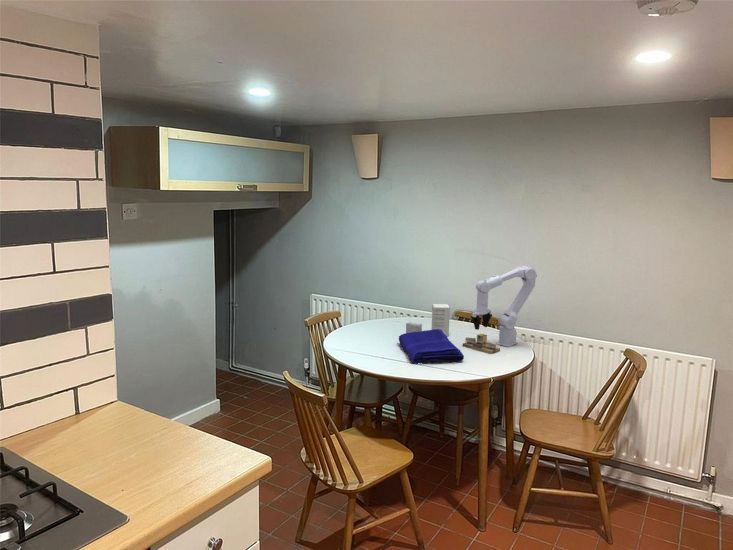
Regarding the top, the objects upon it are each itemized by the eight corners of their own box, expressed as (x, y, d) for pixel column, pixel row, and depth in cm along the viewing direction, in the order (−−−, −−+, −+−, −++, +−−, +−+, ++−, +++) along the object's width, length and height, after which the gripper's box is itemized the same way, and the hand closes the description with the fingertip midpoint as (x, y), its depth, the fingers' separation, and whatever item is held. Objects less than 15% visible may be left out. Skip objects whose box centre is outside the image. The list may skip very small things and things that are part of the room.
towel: (412, 365, 257) (412, 347, 256) (396, 343, 292) (397, 328, 291) (465, 363, 261) (465, 346, 260) (443, 342, 296) (444, 326, 295)
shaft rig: (471, 343, 293) (471, 335, 292) (499, 351, 280) (500, 342, 279) (462, 346, 288) (462, 338, 287) (490, 354, 275) (491, 345, 274)
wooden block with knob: (480, 344, 286) (480, 333, 285) (486, 346, 283) (487, 335, 282) (475, 345, 284) (476, 334, 283) (482, 347, 281) (483, 336, 280)
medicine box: (421, 338, 301) (422, 323, 300) (418, 340, 297) (418, 325, 296) (409, 336, 305) (409, 321, 304) (405, 338, 301) (405, 323, 300)
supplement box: (449, 336, 306) (450, 307, 303) (432, 336, 306) (433, 307, 303) (446, 331, 315) (447, 303, 312) (431, 331, 315) (432, 303, 312)
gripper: (484, 300, 294) (482, 324, 296) (467, 304, 284) (466, 328, 287) (495, 302, 289) (493, 326, 291) (478, 306, 279) (477, 331, 281)
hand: (481, 328), depth 288 cm, fingers open, 7 cm apart
